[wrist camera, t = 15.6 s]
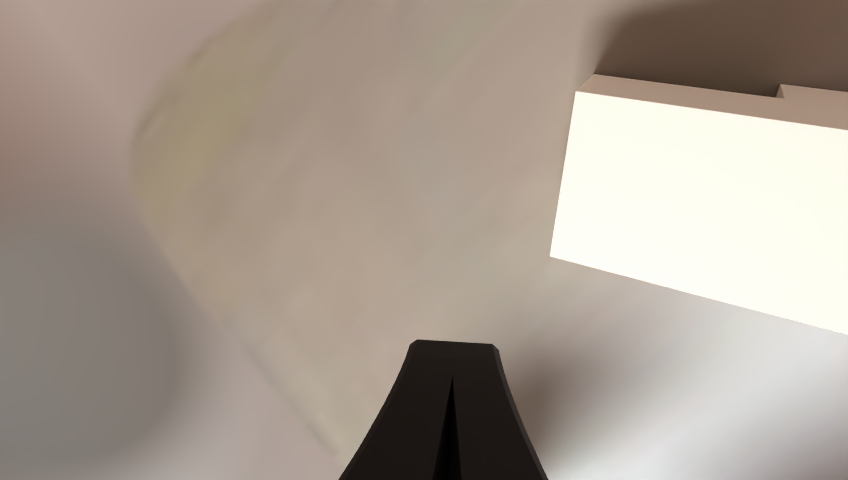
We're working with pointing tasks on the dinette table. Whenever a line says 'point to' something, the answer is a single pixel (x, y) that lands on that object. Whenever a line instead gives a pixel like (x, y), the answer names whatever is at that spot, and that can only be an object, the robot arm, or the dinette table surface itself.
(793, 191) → the domino
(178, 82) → the dinette table surface
